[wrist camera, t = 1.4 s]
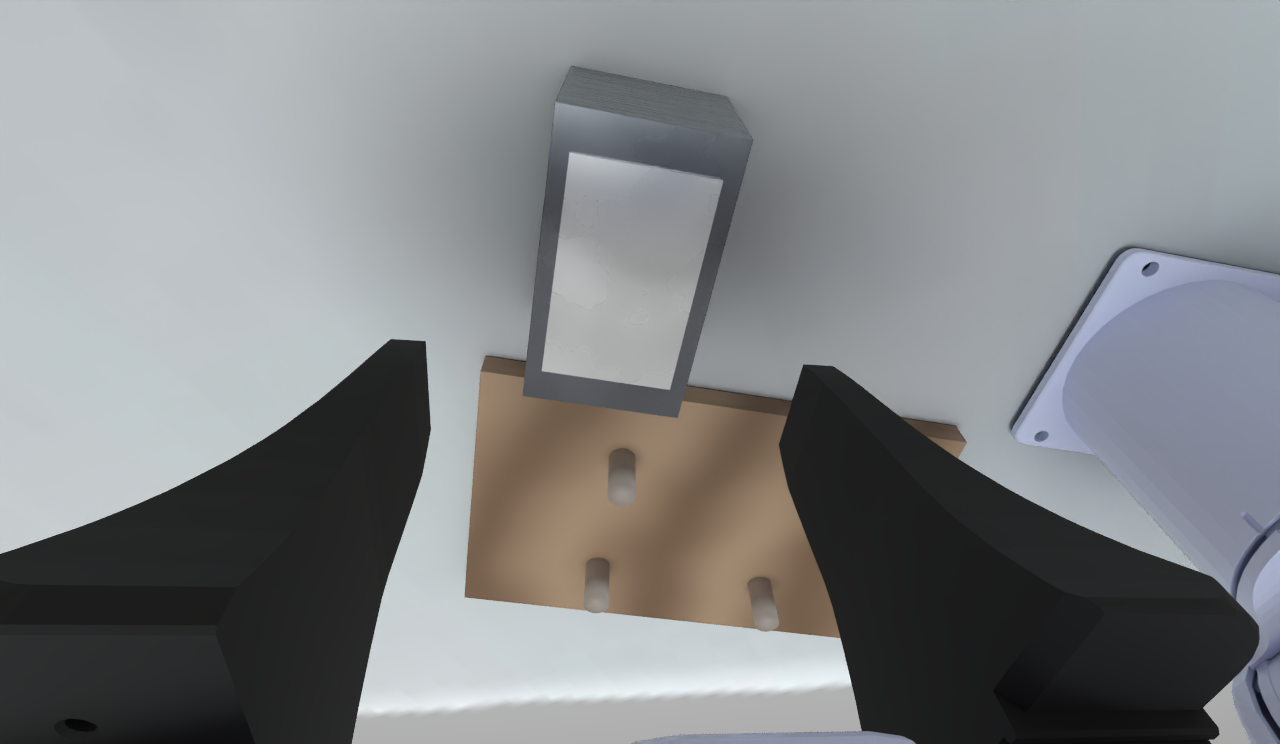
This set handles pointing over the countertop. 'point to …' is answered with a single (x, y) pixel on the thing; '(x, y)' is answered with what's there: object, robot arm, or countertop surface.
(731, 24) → the countertop surface
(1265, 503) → the robot arm
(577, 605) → the pin tray
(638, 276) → the block
